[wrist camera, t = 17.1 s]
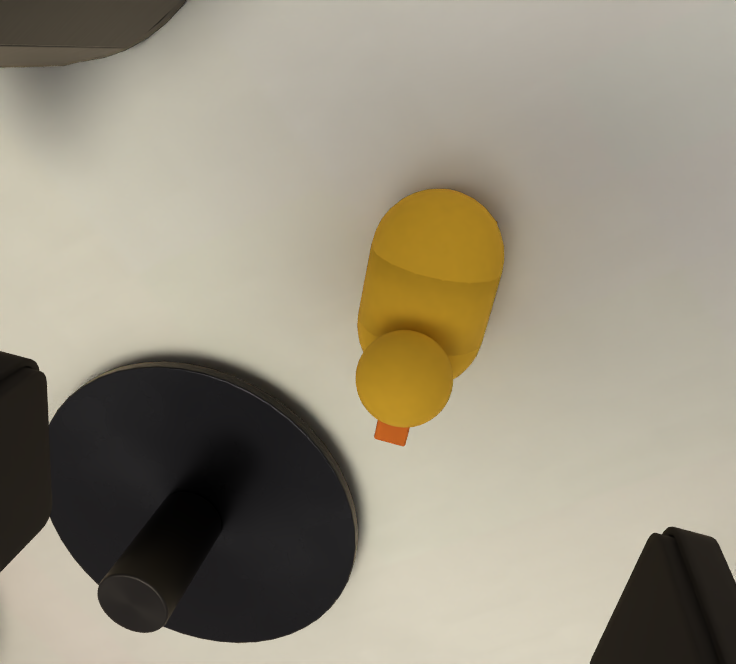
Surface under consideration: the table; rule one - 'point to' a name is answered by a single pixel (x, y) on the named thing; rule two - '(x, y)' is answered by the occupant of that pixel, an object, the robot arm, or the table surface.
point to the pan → (76, 29)
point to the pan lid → (199, 504)
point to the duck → (424, 306)
